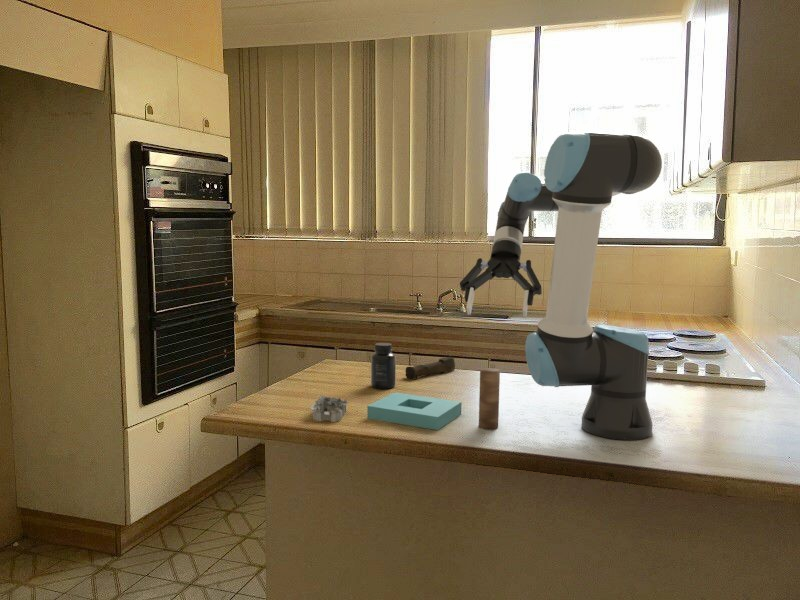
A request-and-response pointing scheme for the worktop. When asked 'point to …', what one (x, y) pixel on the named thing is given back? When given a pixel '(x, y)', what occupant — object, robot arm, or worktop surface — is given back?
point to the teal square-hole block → (414, 410)
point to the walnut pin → (489, 398)
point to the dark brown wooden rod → (431, 368)
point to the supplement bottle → (383, 367)
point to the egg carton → (329, 409)
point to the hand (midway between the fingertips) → (496, 313)
